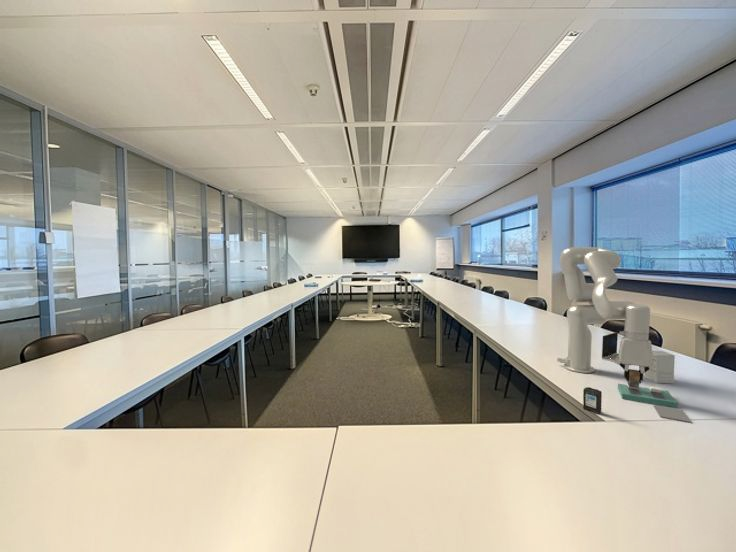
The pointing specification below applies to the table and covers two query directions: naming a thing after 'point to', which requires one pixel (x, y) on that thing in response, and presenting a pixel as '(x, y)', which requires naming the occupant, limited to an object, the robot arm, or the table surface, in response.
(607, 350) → the laptop
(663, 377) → the supplement box
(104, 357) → the table surface
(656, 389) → the switch tab right
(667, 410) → the mat
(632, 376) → the brown cardboard box
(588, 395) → the ink cartridge
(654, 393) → the switch panel
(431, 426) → the table surface
